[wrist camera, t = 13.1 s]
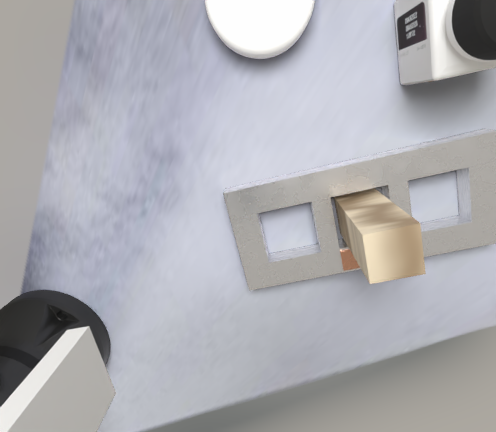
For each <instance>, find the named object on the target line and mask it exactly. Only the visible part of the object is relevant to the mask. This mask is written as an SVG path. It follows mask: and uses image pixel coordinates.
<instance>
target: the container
mask: <svg viewBox="0 0 496 432" xmlns="http://www.w3.org/2000/svg"><path fill="white" fill-rule="evenodd" d="M394 12H395V25H396V37H397V50H398V62H399V75H400V83H401V84H402V85H410V84H417V83H424V82H431V81H437V80H442V79H446V78H451V77H455V76H460V75H464V74H469V73H473V72H478V71H482V70H487V69H491V68H496V0H396V2H395V3H394Z"/></svg>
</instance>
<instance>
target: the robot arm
mask: <svg viewBox="0 0 496 432" xmlns="http://www.w3.org/2000/svg"><path fill="white" fill-rule="evenodd" d="M109 352H110V342H109V337H108V333H107V331H106V328H105V326H104V325H103V323H102V321H101V320H100V318H99V317H98V316H97V315H96V314H95V313H94V312H93V311H92V310H91V309H90V308H89V307H88V306H87V305H85V304H84V303H83V302H81V301H79V300H78V299H76V298H74V297H72V296H69V295H67V294H64V293H60V292H56V291H49V290H37V291H31V292H27V293H24V294H22V295H20V296H18V297H16V298H15V299H13V300H12V301H11V302H9V303H8V304H7V305H6V306H4V307H3V308H2V309H1V310H0V432H97V430H98V428H99V426H100V424H101V422H102V420H103V418H104V416H105V414H106V412H107V410H108V408H109V406H110V404H111V402H112V400H113V398H114V396H115V394H116V392H115V389H114V387H113V384H112V382H111V379H110V377H109V374H108V372H107V369H106V367H105V364H106V362H107V360H108V357H109Z"/></svg>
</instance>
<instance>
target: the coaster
mask: <svg viewBox="0 0 496 432" xmlns="http://www.w3.org/2000/svg"><path fill="white" fill-rule="evenodd" d="M314 4H315V0H205V5H206V10H207V14H208V17H209V20H210V22H211V24H212V26H213V28H214V30H215V31H216V33H217V35H218V36H219V37H220V39H221V40H222V41H223V42H224V43H225V45H226V46H228V47H229V48H230V49H231V50H233V51H234V52H236V53H238V54H240V55H242V56H245V57H248V58H253V59H266V58H271V57H274V56H277V55H279V54H281V53H283V52H285V51H286V50H288V49H289V48H290V47H291V46H292V45H293V44H295V43H296V41H297V40H298V39H299V38H300V36H301V35H302V33H303V32H304V30H305V28H306V26H307V24H308V22H309V20H310V18H311V15H312V12H313V9H314Z"/></svg>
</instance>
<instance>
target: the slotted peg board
mask: <svg viewBox="0 0 496 432" xmlns="http://www.w3.org/2000/svg"><path fill="white" fill-rule="evenodd" d="M454 170H456V174H457V189H458V204H459V215H457V216H452V217H447V218H442V219H437V220H432V221H427V222H422V223H420V225H421V235H422V245H423V255H424V257H427V256H432V255H438V254H443V253H448V252H453V251H458V250H464V249H469V248H474V247H479V246H485V245H490V244H495V243H496V130H491V129H481V130H476V131H472V132H468V133H463V134H459V135H454V136H450V137H446V138H441V139H437V140H433V141H428V142H424V143H420V144H415V145H411V146H407V147H402V148H398V149H394V150H389V151H385V152H381V153H376V154H372V155H367V156H363V157H359V158H354V159H350V160H346V161H341V162H337V163H333V164H328V165H324V166H320V167H315V168H311V169H307V170H302V171H298V172H294V173H289V174H285V175H280V176H276V177H272V178H267V179H263V180H259V181H254V182H250V183H246V184H241V185H237V186H233V187H228V188H225V190H224V192H223V195H224V199H225V203H226V206H227V210H228V214H229V217H230V221H231V225H232V228H233V232H234V236H235V239H236V243H237V247H238V250H239V254H240V258H241V261H242V265H243V269H244V272H245V276H246V280H247V283H248V287H249V291H250V290H255V289H260V288H266V287H271V286H276V285H281V284H286V283H292V282H297V281H302V280H307V279H312V278H318V277H323V276H328V275H333V274H339V273H344V272H349V271H354V270H359V269H361V268H360V266H359V265H358V263H357V261H356V259H355V258H354V256H353V254H352V253H351V251H350V249H349V247H348V246H347V244H346V242H345V241H344V239H339V240H338V237H337V232H336V226H335V220H334V215H333V209H332V204H331V198H330V197H335V196H340V195H344V194H349V193H353V192H358V191H362V190H367V189H372V188H376V187H382V195H384V196H385V197H386V198H388V199H389V200H390V201H392V202H393V203H394V204H396V205H397V206H398V207H400V208H401V209H402V210H403V211H405V212H406V213H407V214H409V215H410V216H411V217H412V213H411V204H410V195H409V186H408V180H413V179H417V178H422V177H427V176H431V175H436V174H440V173H445V172H449V171H454ZM307 202H310V204H311V209H312V214H313V219H314V225H315V230H316V235H317V240H318V244H314V245H309V246H304V247H299V248H294V249H290V250H285V251H280V252H275V253H270V254H269V253H268V249H267V245H266V241H265V237H264V232H263V228H262V224H261V220H260V216H259V213H262V212H266V211H271V210H275V209H280V208H285V207H289V206H294V205H298V204H303V203H307Z"/></svg>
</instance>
